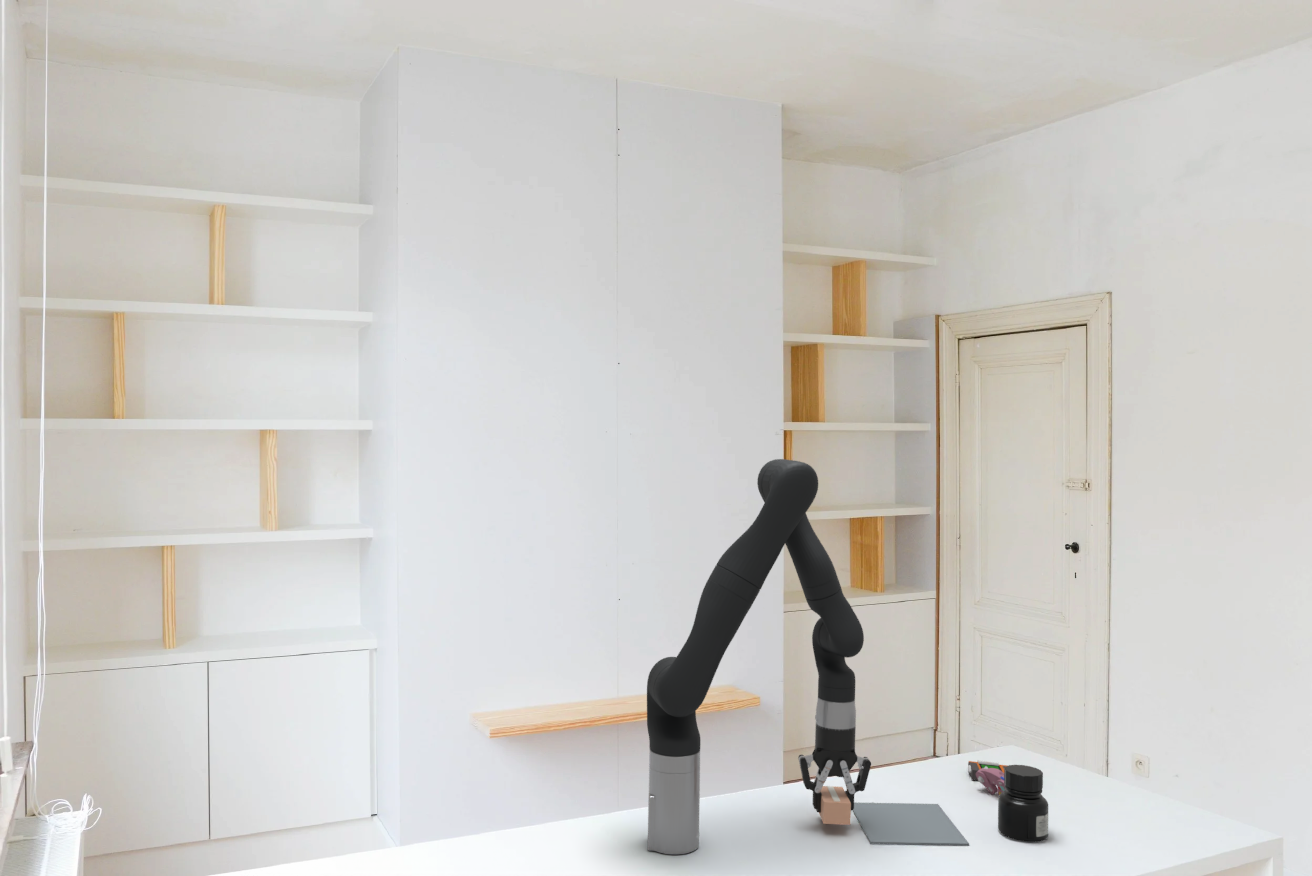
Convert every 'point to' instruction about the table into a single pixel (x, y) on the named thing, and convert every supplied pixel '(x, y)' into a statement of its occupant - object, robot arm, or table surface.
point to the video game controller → (991, 779)
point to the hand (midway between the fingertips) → (833, 811)
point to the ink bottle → (1023, 805)
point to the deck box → (835, 806)
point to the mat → (907, 824)
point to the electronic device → (978, 765)
